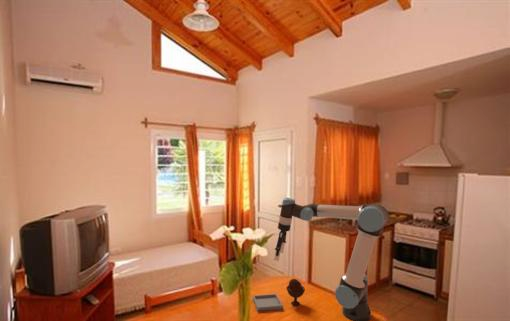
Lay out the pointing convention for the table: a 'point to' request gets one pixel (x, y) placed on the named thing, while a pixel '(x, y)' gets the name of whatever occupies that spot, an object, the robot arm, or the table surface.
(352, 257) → the robot arm
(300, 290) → the ice cream bowl
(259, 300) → the tray
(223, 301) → the table surface
